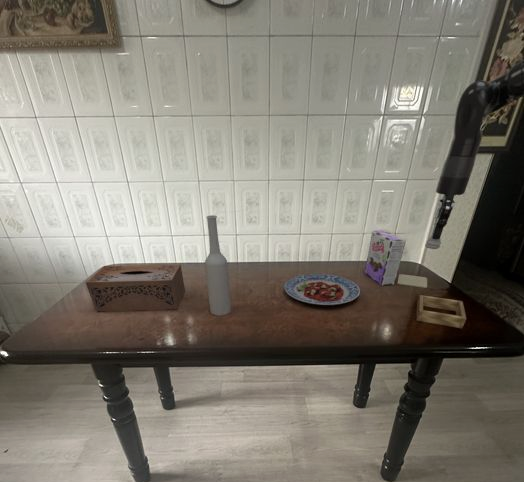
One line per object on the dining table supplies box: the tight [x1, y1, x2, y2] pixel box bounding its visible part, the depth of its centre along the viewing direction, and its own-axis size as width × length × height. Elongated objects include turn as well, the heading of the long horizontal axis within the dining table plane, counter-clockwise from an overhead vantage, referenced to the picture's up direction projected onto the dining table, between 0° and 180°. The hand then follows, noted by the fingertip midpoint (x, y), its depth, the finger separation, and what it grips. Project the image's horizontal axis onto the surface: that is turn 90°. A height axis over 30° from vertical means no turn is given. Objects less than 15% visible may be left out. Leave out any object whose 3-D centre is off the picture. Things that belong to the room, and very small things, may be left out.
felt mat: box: [397, 273, 428, 289], centre depth 114 cm, size 10×10×1 cm
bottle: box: [204, 214, 232, 316], centre depth 88 cm, size 7×7×28 cm
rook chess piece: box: [424, 220, 442, 250], centre depth 95 cm, size 4×4×8 cm
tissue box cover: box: [85, 263, 186, 312], centre depth 99 cm, size 26×14×10 cm, turn 92°
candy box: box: [363, 229, 407, 286], centre depth 111 cm, size 14×6×16 cm, turn 10°
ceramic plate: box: [284, 273, 361, 306], centre depth 105 cm, size 26×26×3 cm
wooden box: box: [415, 294, 467, 329], centre depth 91 cm, size 12×12×3 cm
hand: (435, 237), depth 95 cm, fingers closed on rook chess piece, 3 cm apart
